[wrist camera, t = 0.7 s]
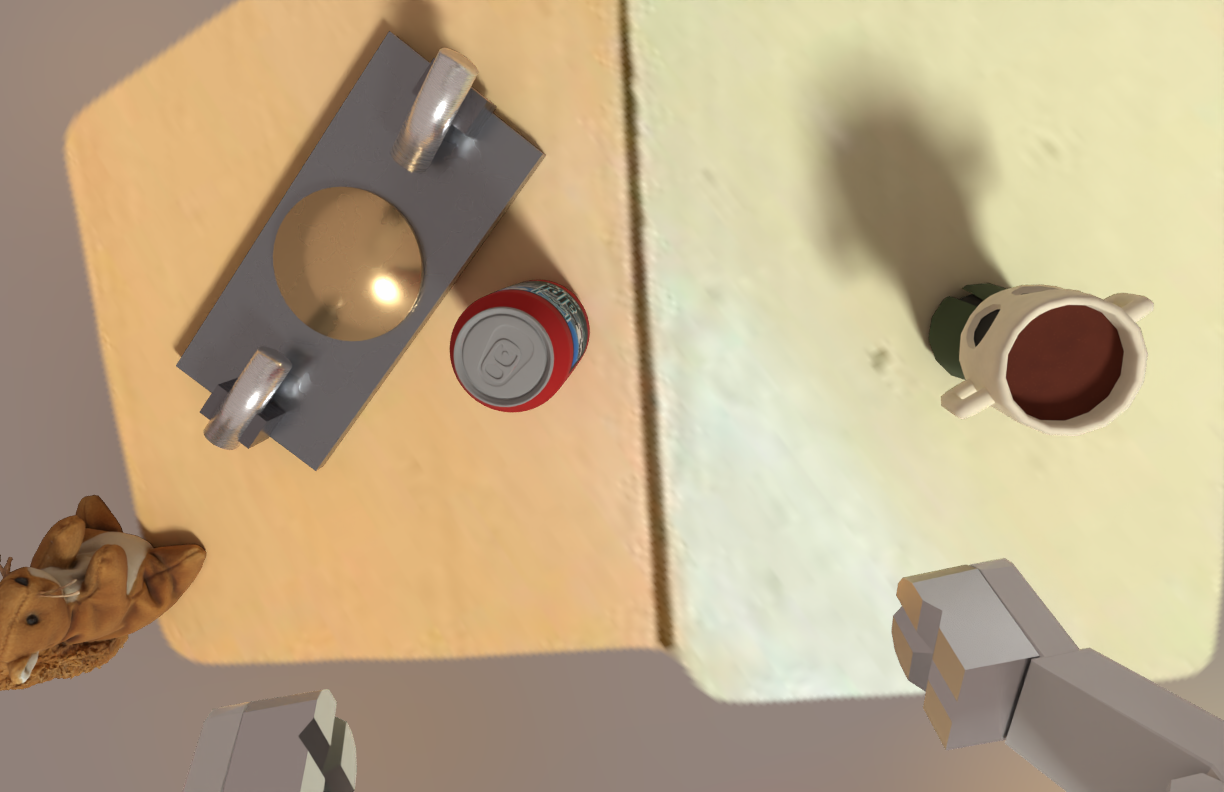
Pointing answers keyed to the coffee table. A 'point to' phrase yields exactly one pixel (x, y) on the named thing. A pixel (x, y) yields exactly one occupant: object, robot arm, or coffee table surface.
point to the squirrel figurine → (85, 596)
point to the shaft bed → (357, 254)
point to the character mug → (1042, 354)
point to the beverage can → (519, 344)
